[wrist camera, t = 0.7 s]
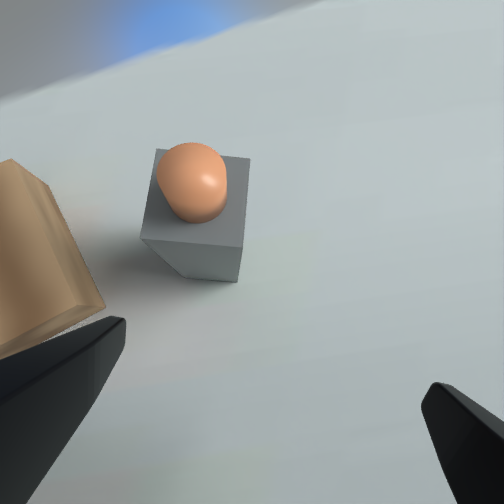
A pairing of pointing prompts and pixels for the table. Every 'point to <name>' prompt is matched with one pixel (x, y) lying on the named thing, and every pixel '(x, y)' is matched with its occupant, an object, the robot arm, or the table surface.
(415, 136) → the table surface
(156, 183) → the gray square post
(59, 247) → the wooden block with hole
